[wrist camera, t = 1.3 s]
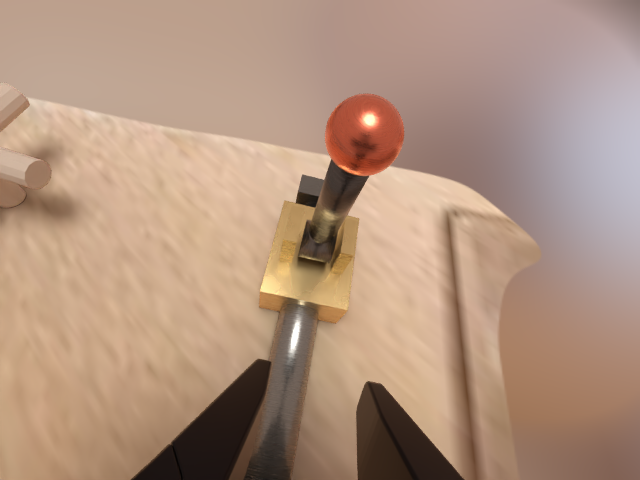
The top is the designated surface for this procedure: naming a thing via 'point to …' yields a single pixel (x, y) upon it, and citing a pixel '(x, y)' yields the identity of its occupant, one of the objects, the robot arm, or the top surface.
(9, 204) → the pipe connector
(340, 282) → the valve pipe
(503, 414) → the top surface
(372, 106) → the valve lever
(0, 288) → the top surface
